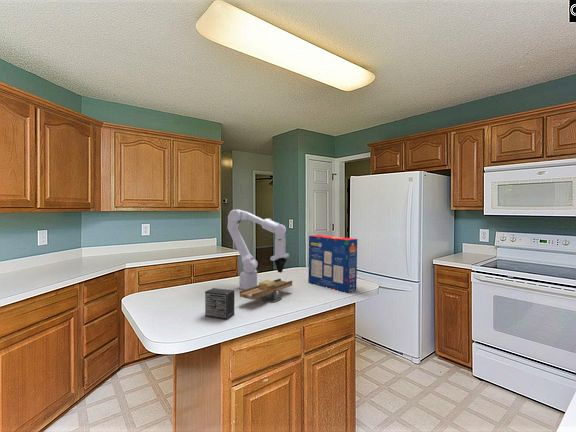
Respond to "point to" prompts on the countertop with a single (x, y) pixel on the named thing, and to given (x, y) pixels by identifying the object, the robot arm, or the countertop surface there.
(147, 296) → the countertop surface
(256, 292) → the beam
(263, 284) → the block
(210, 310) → the small box
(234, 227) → the robot arm
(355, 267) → the blue game box
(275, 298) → the fulcrum
